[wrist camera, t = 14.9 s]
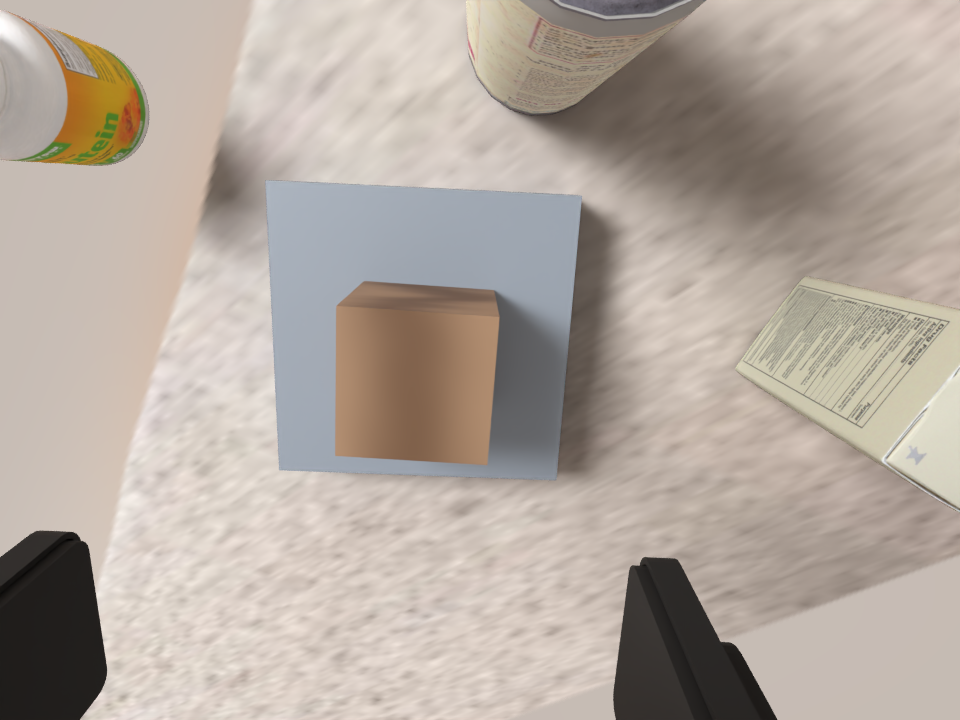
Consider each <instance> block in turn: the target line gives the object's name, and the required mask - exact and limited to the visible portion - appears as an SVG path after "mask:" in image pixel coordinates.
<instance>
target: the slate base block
mask: <svg viewBox="0 0 960 720" xmlns="http://www.w3.org/2000/svg"><path fill="white" fill-rule="evenodd" d="M265 184H266V205H267V225H268V246H269V267H270V287H271V308H272V329H273V350H274V370H275V391H276V412H277V433H278V453H279V470H289V471H316V472H343V473H370V474H397V475H424V476H452V477H479V478H506V479H533V480H556V478H557V467H558V456H559V445H560V434H561V423H562V411H563V400H564V389H565V378H566V367H567V356H568V345H569V334H570V323H571V312H572V301H573V290H574V279H575V268H576V257H577V245H578V234H579V223H580V212H581V201H582V196H578V195H564V194H544V193H524V192H503V191H483V190H462V189H442V188H422V187H401V186H381V185H360V184H340V183H320V182H299V181H272V180H265ZM364 281H373V282H387V283H401V284H416V285H430V286H444V287H458V288H473V289H487V290H494V292H495V297H496V302H497V307H498V312H499V316H500V319H499V331H498V343H497V355H496V367H495V379H494V391H493V403H492V415H491V427H490V439H489V451H488V463H487V465H476V464H459V463H443V462H427V461H410V460H394V459H377V458H361V457H344V456H335V399H336V306H337V305H338V304H339V303H340V302H341V301H342V300H343V299H344V298H346V297H347V296H348V295H349V294H350V293H351V292H352V291H353V290H355V289H356V288H357V287H358V286H359V285H360V284H361V283H362V282H364Z"/></svg>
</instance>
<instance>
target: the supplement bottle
mask: <svg viewBox="0 0 960 720" xmlns="http://www.w3.org/2000/svg"><path fill="white" fill-rule="evenodd" d="M148 125H149V106H148V102H147V98H146V94H145V91H144V89H143V87H142V85H141V83H140V82H139V80H138V78H137V76H136V75H135V74H134V72H133V71H132V70H131V69H130V68H129V66H128V65H127V64H126V63H125V62H124V61H122V60H121V59H120V58H119V57H117V56H116V55H114V54H113V53H111V52H109V51H107V50H105V49H103V48H101V47H99V46H97V45H94V44H92V43H89V42H86V41H84V40H81V39H79V38H76V37H73V36H71V35H68V34H66V33H63V32H60V31H58V30H55V29H52V28H49V27H47V26H44V25H41V24H39V23H36V22H33V21H31V20H28V19H25V18H23V17H20V16H17V15H15V14H12V13H10V12H7V11H4V10H1V9H0V160H9V161H28V162H44V163H65V164H77V165H96V166H97V165H98V166H102V165H110V164H115V163H118V162H120V161H123V160H125V159H126V158H128V157H129V156H131V155H132V154H133V153H134V152H135V151H136V150H137V149H138V148H139V147H140V145H141V144H142V142H143V140H144V138H145V136H146V133H147V129H148Z"/></svg>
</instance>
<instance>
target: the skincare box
mask: <svg viewBox="0 0 960 720" xmlns="http://www.w3.org/2000/svg"><path fill="white" fill-rule="evenodd" d="M736 371H737V372H738V373H740V374H741V375H742V376H744V377H745V378H747V379H748V380H750V381H751V382H752V383H754V384H755V385H757V386H758V387H760V388H761V389H763V390H764V391H766V392H767V393H769V394H770V395H772V396H773V397H775V398H777V399H778V400H780V401H781V402H783V403H784V404H786V405H787V406H789V407H790V408H792V409H793V410H795V411H797V412H798V413H800V414H801V415H803V416H805V417H806V418H808V419H809V420H811V421H813V422H814V423H816V424H817V425H819V426H820V427H822V428H823V429H825V430H826V431H828V432H830V433H831V434H833V435H834V436H836V437H838V438H839V439H841V440H842V441H844V442H846V443H847V444H849V445H850V446H852V447H853V448H855V449H857V450H858V451H860V452H861V453H863V454H864V455H866V456H868V457H869V458H871V459H872V460H874V461H876V462H877V463H879V464H880V465H882V466H884V467H885V468H887V469H888V470H890V471H892V472H893V473H895V474H896V475H898V476H900V477H901V478H903V479H904V480H906V481H908V482H909V483H911V484H912V485H914V486H916V487H917V488H919V489H920V490H922V491H924V492H925V493H927V494H929V495H930V496H932V497H934V498H935V499H937V500H938V501H940V502H942V503H943V504H945V505H947V506H949V507H950V508H952V509H954V510H955V511H957V512H959V513H960V309H956V308H951V307H947V306H942V305H937V304H933V303H928V302H923V301H918V300H913V299H909V298H905V297H900V296H896V295H891V294H887V293H882V292H878V291H873V290H868V289H863V288H859V287H854V286H850V285H845V284H841V283H836V282H831V281H827V280H822V279H817V278H813V277H808V276H806V277H804V278H803V279H802V280H801V281H800V282H799V283H798V285H797V286H796V287H795V288H794V290H793V291H792V292H791V294H790V295H789V296H788V297H787V298H786V300H785V301H784V302H783V304H782V305H781V306H780V308H779V309H778V310H777V312H776V313H775V314H774V315H773V317H772V318H771V319H770V321H769V322H768V323H767V325H766V326H765V327H764V329H763V330H762V331H761V333H760V334H759V336H758V337H757V338H756V340H755V341H754V343H753V344H752V345H751V347H750V348H749V349H748V351H747V352H746V354H745V355H744V356H743V358H742V359H741V361H740V362H739V363H738V365H737V366H736Z"/></svg>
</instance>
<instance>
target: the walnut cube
mask: <svg viewBox="0 0 960 720" xmlns="http://www.w3.org/2000/svg"><path fill="white" fill-rule="evenodd" d="M499 319H500V316H499V312H498V307H497V302H496V297H495V292H494V290H487V289H473V288H458V287H444V286H430V285H416V284H401V283H387V282H373V281H364V282H362V283H361V284H360V285H359V286H358V287H357V288H356V289H355V290H353V291H352V292H351V293H350V294H349V295H348V296H347V297H346V298H344V299H343V300H342V301H341V302H340V303H339V304H338V305H337V306H336V399H335V456H344V457H361V458H377V459H394V460H410V461H427V462H443V463H459V464H476V465H487V463H488V451H489V439H490V427H491V415H492V403H493V391H494V379H495V367H496V355H497V343H498V331H499Z"/></svg>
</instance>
